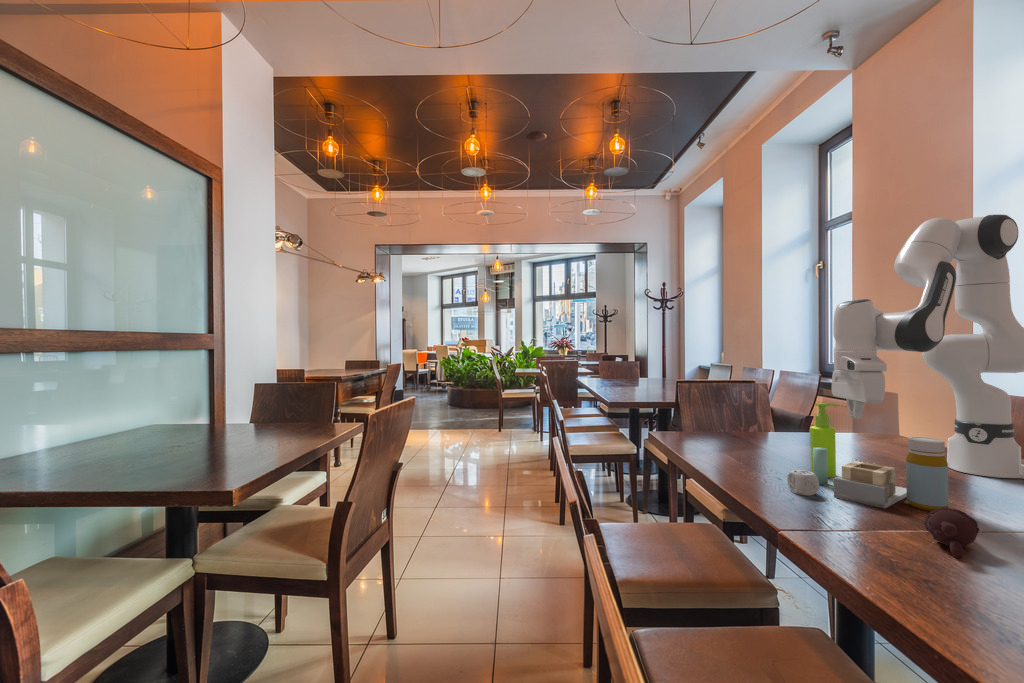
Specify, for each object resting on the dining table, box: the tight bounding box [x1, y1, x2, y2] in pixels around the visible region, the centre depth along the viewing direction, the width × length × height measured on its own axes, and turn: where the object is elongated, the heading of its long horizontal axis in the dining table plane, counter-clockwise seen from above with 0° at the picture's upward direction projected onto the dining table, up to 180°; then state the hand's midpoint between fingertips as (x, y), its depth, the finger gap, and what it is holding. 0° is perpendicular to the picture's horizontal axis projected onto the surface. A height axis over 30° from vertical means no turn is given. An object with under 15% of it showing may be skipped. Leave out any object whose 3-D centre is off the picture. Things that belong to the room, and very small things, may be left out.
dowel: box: [813, 448, 829, 486], centre depth 124 cm, size 3×3×9 cm
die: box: [786, 469, 820, 496], centre depth 117 cm, size 5×5×5 cm
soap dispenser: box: [809, 402, 839, 478], centre depth 132 cm, size 6×7×20 cm
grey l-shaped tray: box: [833, 476, 907, 509], centre depth 114 cm, size 18×10×4 cm, turn 124°
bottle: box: [905, 436, 949, 512], centre depth 106 cm, size 7×7×15 cm
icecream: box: [923, 507, 980, 559], centre depth 86 cm, size 7×7×15 cm
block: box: [841, 460, 896, 497], centre depth 112 cm, size 8×8×6 cm
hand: (855, 418), depth 119 cm, fingers closed
